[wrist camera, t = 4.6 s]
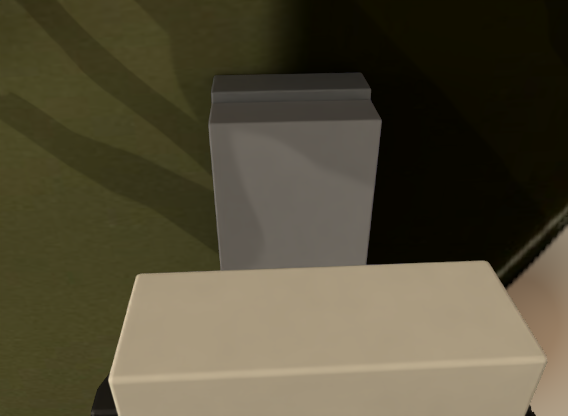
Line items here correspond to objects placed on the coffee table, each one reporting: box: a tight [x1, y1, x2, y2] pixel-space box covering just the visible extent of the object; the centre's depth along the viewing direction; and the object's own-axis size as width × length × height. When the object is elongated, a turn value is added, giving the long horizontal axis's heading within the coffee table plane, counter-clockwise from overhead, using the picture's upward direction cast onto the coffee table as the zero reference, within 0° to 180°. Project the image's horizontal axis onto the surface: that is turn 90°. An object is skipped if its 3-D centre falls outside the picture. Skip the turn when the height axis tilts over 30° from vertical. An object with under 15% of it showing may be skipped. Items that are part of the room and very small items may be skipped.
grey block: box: [208, 73, 382, 271], centre depth 17 cm, size 10×4×3 cm, turn 0°
